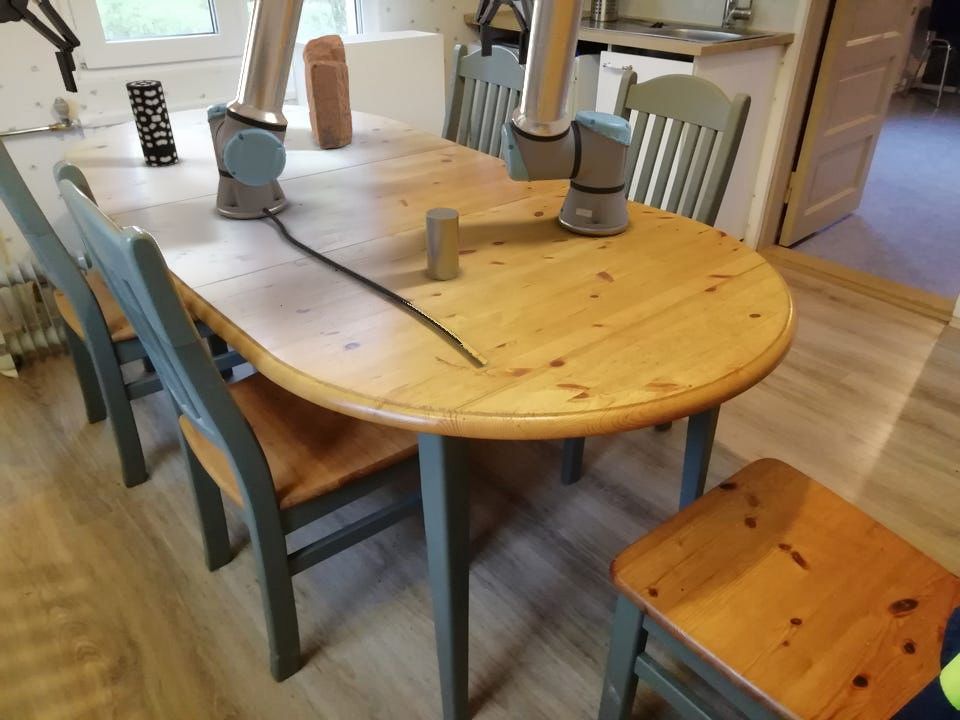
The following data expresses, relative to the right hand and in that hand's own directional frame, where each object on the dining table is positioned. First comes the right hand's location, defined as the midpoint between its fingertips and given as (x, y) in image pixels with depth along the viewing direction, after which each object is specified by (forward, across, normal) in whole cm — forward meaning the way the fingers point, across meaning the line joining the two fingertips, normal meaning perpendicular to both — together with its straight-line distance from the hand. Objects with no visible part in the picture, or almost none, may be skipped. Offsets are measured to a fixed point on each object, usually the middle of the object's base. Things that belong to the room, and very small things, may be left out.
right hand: (504, 60), depth 165 cm
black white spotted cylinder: (+18, -65, -66) cm, 94 cm away
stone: (+28, -57, -18) cm, 66 cm away
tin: (+28, +38, -47) cm, 66 cm away
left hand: (-1, -12, -98) cm, 98 cm away
